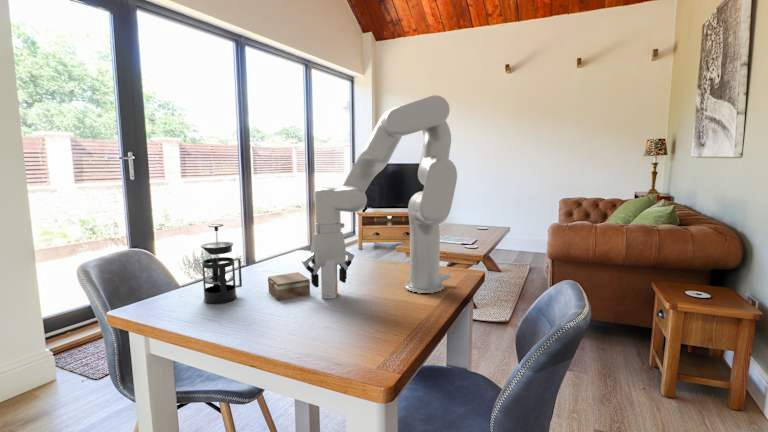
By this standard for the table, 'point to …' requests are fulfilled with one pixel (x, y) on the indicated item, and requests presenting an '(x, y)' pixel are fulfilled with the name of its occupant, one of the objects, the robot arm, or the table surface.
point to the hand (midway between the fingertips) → (329, 283)
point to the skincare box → (329, 279)
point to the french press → (220, 272)
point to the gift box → (289, 286)
